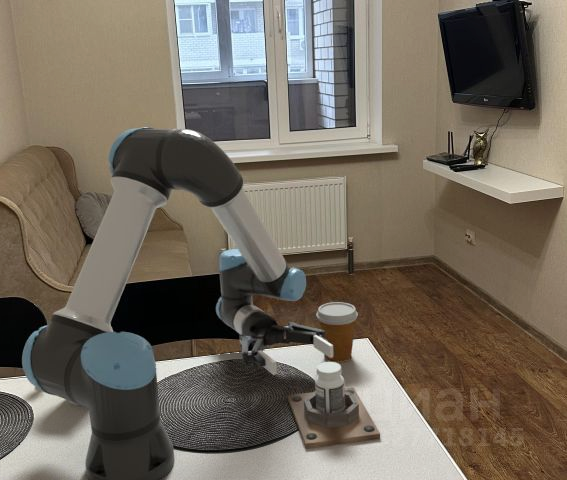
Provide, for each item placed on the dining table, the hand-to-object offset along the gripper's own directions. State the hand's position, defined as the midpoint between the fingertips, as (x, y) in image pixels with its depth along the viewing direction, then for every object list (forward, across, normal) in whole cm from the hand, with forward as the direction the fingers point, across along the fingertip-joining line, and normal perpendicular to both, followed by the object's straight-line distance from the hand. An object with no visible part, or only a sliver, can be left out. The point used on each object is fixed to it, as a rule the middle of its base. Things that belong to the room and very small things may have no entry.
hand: (304, 359), depth 133 cm
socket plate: (+10, 0, -8) cm, 13 cm away
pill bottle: (+10, 0, -8) cm, 12 cm away
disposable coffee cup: (-12, -16, -9) cm, 22 cm away
